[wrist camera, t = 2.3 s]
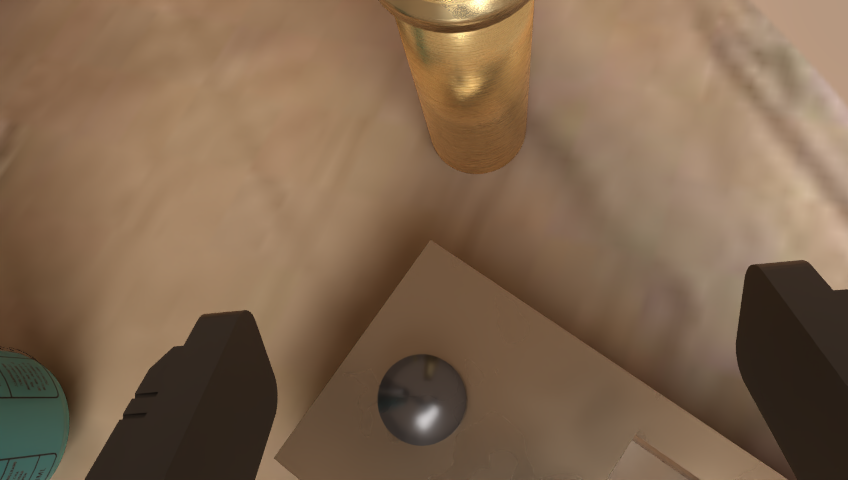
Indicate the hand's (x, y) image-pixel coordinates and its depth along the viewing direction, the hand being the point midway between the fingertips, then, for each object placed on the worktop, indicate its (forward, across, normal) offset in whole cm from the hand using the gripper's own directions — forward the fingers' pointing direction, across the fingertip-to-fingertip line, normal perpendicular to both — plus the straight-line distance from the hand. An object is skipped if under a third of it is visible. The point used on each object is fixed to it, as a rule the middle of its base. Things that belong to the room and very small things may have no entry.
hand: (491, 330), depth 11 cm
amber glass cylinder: (+17, 0, +3) cm, 18 cm away
